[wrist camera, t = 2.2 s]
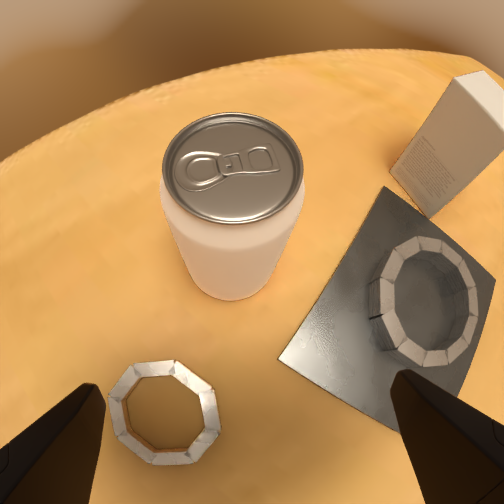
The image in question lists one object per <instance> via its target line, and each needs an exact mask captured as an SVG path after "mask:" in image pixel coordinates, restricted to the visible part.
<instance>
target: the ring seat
mask: <svg viewBox="0 0 504 504" xmlns="http://www.w3.org/2000/svg"><path fill="white" fill-rule="evenodd" d="M495 282H496V279H495V278H494V277H493V276H492V275H491V274H490V273H488V272H487V271H486V270H485V269H484V268H483V267H482V266H481V265H480V264H479V263H478V262H477V261H476V260H475V259H474V258H473V257H472V256H471V255H469V254H468V253H467V252H466V251H465V250H464V249H463V248H462V247H461V246H459V245H458V244H457V243H456V242H455V241H454V240H453V239H451V238H450V237H449V236H448V235H447V234H446V233H444V232H443V231H442V230H441V229H440V228H438V227H437V226H436V225H435V224H434V223H432V222H431V221H430V220H429V219H427V218H426V217H425V216H424V215H422V214H421V213H420V212H419V211H417V210H416V209H415V208H413V207H412V206H411V205H410V204H408V203H407V202H406V201H404V200H403V199H402V198H400V197H399V196H398V195H396V194H395V193H393V192H392V191H391V190H389V189H388V188H387V187H385V186H383V188H382V189H381V191H380V193H379V195H378V197H377V199H376V201H375V202H374V204H373V206H372V208H371V210H370V212H369V213H368V215H367V217H366V219H365V221H364V222H363V224H362V226H361V228H360V230H359V231H358V233H357V235H356V237H355V238H354V240H353V242H352V244H351V245H350V247H349V249H348V250H347V252H346V254H345V256H344V257H343V259H342V261H341V262H340V264H339V266H338V267H337V269H336V271H335V272H334V274H333V275H332V277H331V279H330V280H329V282H328V284H327V285H326V287H325V288H324V290H323V292H322V293H321V295H320V296H319V298H318V299H317V301H316V303H315V304H314V306H313V307H312V309H311V310H310V312H309V313H308V315H307V317H306V318H305V320H304V321H303V323H302V324H301V326H300V327H299V329H298V330H297V332H296V333H295V335H294V336H293V338H292V339H291V340H290V342H289V343H288V345H287V346H286V348H285V349H284V351H283V352H282V353H281V355H280V356H279V358H278V360H280V361H281V362H283V363H284V364H286V365H287V366H289V367H290V368H292V369H293V370H295V371H296V372H298V373H299V374H301V375H302V376H304V377H305V378H307V379H309V380H310V381H312V382H313V383H315V384H316V385H318V386H320V387H321V388H323V389H324V390H326V391H328V392H329V393H331V394H332V395H334V396H336V397H337V398H339V399H341V400H342V401H344V402H346V403H347V404H349V405H351V406H352V407H354V408H356V409H357V410H359V411H361V412H363V413H364V414H366V415H368V416H369V417H371V418H373V419H375V420H376V421H378V422H380V423H382V424H384V425H385V426H387V427H389V428H391V429H393V430H394V431H396V432H398V433H400V430H399V426H398V422H397V419H396V415H395V411H394V407H393V404H392V400H391V397H390V388H391V386H392V383H393V380H394V378H395V375H396V373H397V372H398V371H399V370H404V369H411V370H413V371H415V372H416V373H418V374H419V375H421V376H423V377H424V378H426V379H428V380H429V381H431V382H432V383H434V384H436V385H437V386H439V387H441V388H442V389H444V390H445V391H447V392H449V393H450V394H452V395H454V396H455V397H457V396H458V394H459V392H460V389H461V387H462V385H463V382H464V380H465V378H466V375H467V373H468V370H469V368H470V365H471V362H472V360H473V357H474V354H475V351H476V349H477V346H478V343H479V340H480V337H481V334H482V331H483V327H484V324H485V321H486V317H487V314H488V310H489V306H490V303H491V299H492V295H493V290H494V286H495ZM400 434H401V433H400Z"/></svg>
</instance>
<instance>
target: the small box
mask: <svg viewBox="0 0 504 504" xmlns="http://www.w3.org/2000/svg"><path fill="white" fill-rule="evenodd" d="M503 150H504V90H503V89H502V88H501V87H500V86H499V85H498V84H497V83H496V82H495V81H494V80H493V79H492V78H491V77H490V76H489V75H488V74H487V73H486V72H484V71H483V70H481V71H477V72H473V73H469V74H465V75H461V76H457V77H453V79H452V81H451V82H450V84H449V85H448V87H447V89H446V90H445V92H444V93H443V95H442V96H441V98H440V99H439V101H438V102H437V104H436V106H435V107H434V108H433V110H432V111H431V113H430V114H429V116H428V117H427V119H426V120H425V122H424V123H423V125H422V126H421V128H420V129H419V130H418V132H417V133H416V135H415V136H414V138H413V139H412V140H411V142H410V143H409V145H408V146H407V148H406V149H405V150H404V152H403V153H402V154H401V156H400V157H399V158H398V160H397V161H396V163H395V164H394V165H393V167H392V168H391V169H390V174H391V175H392V176H393V177H394V178H395V179H396V180H397V181H398V183H399V184H400V185H401V186H402V187H403V189H404V190H405V191H406V192H407V193H408V195H409V196H410V197H411V198H412V200H413V201H414V202H415V203H416V205H417V206H418V207H419V209H420V210H421V211H422V212H423V214H424V215H425V216H426V217H427V218H428V219H430V218H431V217H433V216H434V215H435V214H436V213H437V212H438V211H440V210H441V209H442V208H443V207H444V206H445V205H446V204H447V203H448V202H450V201H451V200H452V199H453V198H454V197H455V196H456V195H457V194H458V193H460V192H461V191H462V190H463V189H464V188H465V187H466V186H467V185H468V184H469V183H471V182H472V181H473V180H474V179H475V178H476V177H477V176H478V175H479V174H480V173H481V172H482V171H483V170H484V169H485V168H486V167H487V166H488V165H489V164H490V163H491V162H492V161H493V160H494V159H495V158H496V157H497V156H498V155H499V154H500V153H501V152H502V151H503Z"/></svg>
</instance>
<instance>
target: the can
mask: <svg viewBox="0 0 504 504" xmlns="http://www.w3.org/2000/svg"><path fill="white" fill-rule="evenodd" d="M304 193H305V186H304V179H303V160H302V156H301V153H300V151H299V148H298V147H297V145H296V143H295V142H294V140H293V139H292V138H291V137H290V135H289V134H288V133H287V132H286V131H284V130H283V129H282V128H281V127H279V126H278V125H276V124H275V123H273V122H271V121H269V120H267V119H265V118H262V117H259V116H256V115H252V114H247V113H239V112H226V113H218V114H213V115H209V116H206V117H203V118H201V119H198V120H196V121H194V122H192V123H191V124H189V125H187V126H186V127H185V128H183V129H182V130H181V131H180V132H179V133H178V134H177V135H176V136H175V137H174V138H173V139H172V141H171V142H170V144H169V146H168V147H167V149H166V152H165V155H164V158H163V163H162V176H161V181H160V198H161V204H162V207H163V211H164V214H165V217H166V219H167V222H168V224H169V227H170V229H171V232H172V234H173V237H174V239H175V241H176V244H177V246H178V249H179V251H180V253H181V256H182V258H183V260H184V262H185V265H186V267H187V269H188V271H189V273H190V275H191V277H192V279H193V281H194V282H195V284H196V285H197V286H198V287H199V288H200V289H201V290H202V291H203V292H205V293H206V294H208V295H210V296H212V297H214V298H217V299H220V300H226V301H235V300H241V299H245V298H248V297H250V296H252V295H254V294H255V293H257V292H258V291H259V290H260V289H262V288H263V286H264V285H265V284H266V283H267V281H268V280H269V278H270V276H271V275H272V273H273V271H274V269H275V267H276V265H277V262H278V260H279V258H280V256H281V254H282V252H283V250H284V248H285V246H286V243H287V241H288V239H289V237H290V235H291V233H292V230H293V228H294V226H295V224H296V221H297V219H298V217H299V214H300V211H301V208H302V205H303V200H304Z"/></svg>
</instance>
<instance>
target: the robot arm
mask: <svg viewBox="0 0 504 504" xmlns="http://www.w3.org/2000/svg"><path fill="white" fill-rule="evenodd" d="M390 397H391V400H392V404H393V407H394V411H395V415H396V419H397V422H398V426H399V430H400V433H401V436H402V439H403V442H404V445H405V447H406V450H407V452H408V455H409V458H410V461H411V463H412V466H413V469H414V472H415V474H416V477H417V480H418V483H419V486H420V489H421V492H422V495H423V498H424V501H425V504H504V425H502V424H500V423H499V422H497V421H495V420H494V419H491V418H490V417H488V416H487V415H485V414H483V413H482V412H480V411H478V410H477V409H475V408H473V407H472V406H470V405H468V404H467V403H465V402H464V401H462V400H460V399H459V398H457V397H455V396H454V395H452V394H450V393H449V392H447V391H445V390H444V389H442V388H441V387H439V386H437V385H436V384H434V383H432V382H431V381H429V380H428V379H426V378H424V377H423V376H421V375H419V374H418V373H416V372H415V371H413V370H411V369H404V370H399V371H398V372H397V373H396V375H395V378H394V380H393V383H392V386H391V388H390ZM105 411H106V403H105V400H104V398H103V396H102V394H101V392H100V390H99V388H98V386H97V385H96V384H92V383H83V384H82V385H80V386H79V387H78V388H77V389H75V390H74V391H73V392H72V393H70V394H69V395H68V396H66V397H65V398H64V399H63V400H61V401H60V402H59V403H58V404H56V405H55V406H54V407H53V408H51V409H50V410H49V411H48V412H46V413H45V414H44V415H43V416H41V417H40V418H39V419H38V420H36V421H35V422H34V423H32V424H31V425H30V426H29V427H27V428H26V429H25V430H24V431H22V432H21V433H20V434H19V435H17V436H16V437H15V438H14V439H12V440H11V441H10V442H9V443H7V444H6V445H5V446H3V447H2V448H1V449H0V504H89V499H90V494H91V489H92V484H93V479H94V474H95V470H96V465H97V461H98V457H99V452H100V447H101V440H102V432H103V424H104V417H105Z"/></svg>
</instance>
